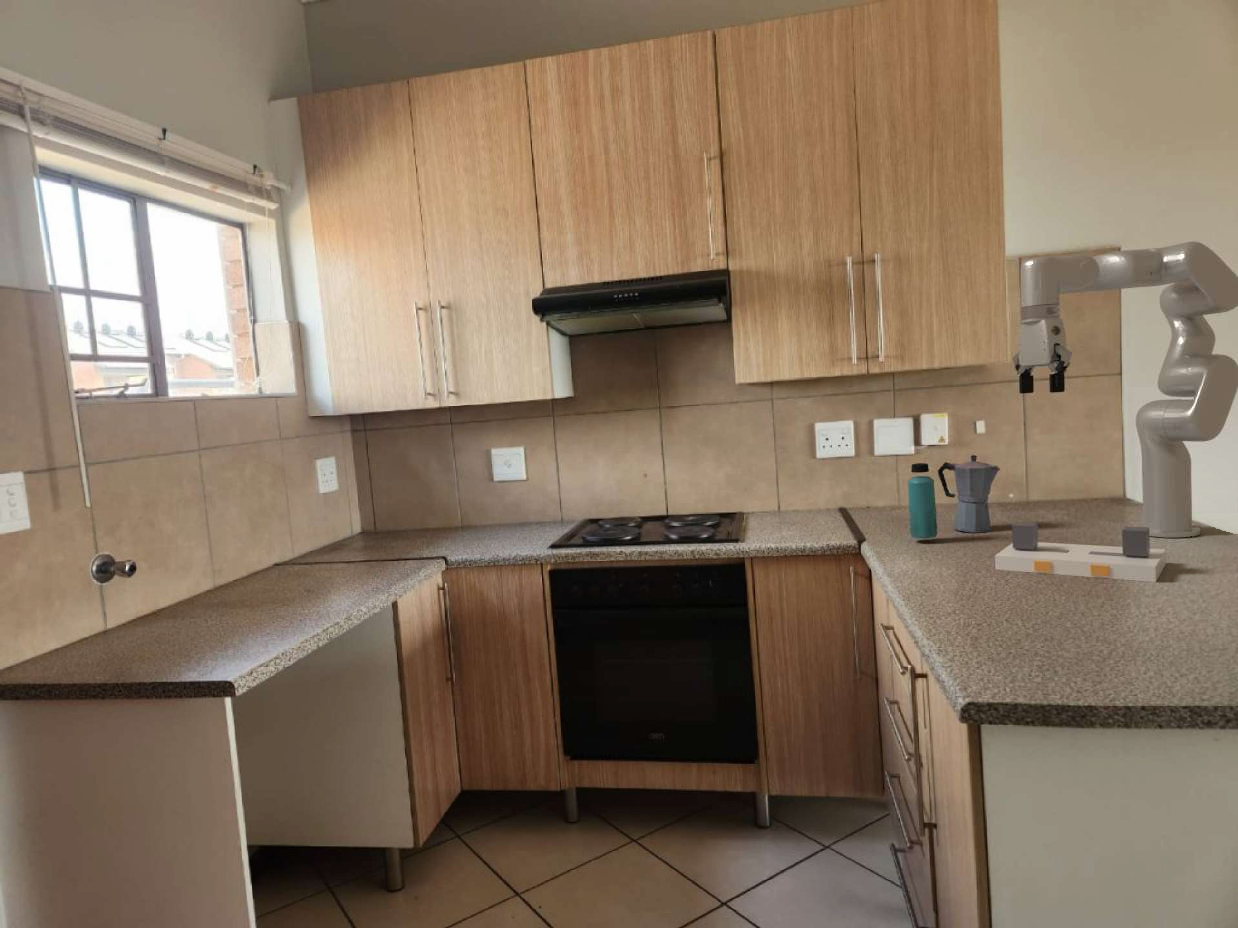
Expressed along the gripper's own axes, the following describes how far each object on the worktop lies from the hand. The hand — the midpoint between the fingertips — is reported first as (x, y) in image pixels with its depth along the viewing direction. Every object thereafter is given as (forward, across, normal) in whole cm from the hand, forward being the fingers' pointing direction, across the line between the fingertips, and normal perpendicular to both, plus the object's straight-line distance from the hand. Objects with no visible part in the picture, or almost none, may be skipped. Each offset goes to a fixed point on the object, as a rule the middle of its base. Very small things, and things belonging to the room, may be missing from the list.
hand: (1041, 392), depth 173 cm
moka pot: (+36, +30, -2) cm, 47 cm away
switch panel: (+36, -14, +3) cm, 39 cm away
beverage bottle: (+36, +24, +15) cm, 46 cm away
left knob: (+33, -7, +10) cm, 35 cm away
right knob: (+32, -22, -3) cm, 39 cm away
